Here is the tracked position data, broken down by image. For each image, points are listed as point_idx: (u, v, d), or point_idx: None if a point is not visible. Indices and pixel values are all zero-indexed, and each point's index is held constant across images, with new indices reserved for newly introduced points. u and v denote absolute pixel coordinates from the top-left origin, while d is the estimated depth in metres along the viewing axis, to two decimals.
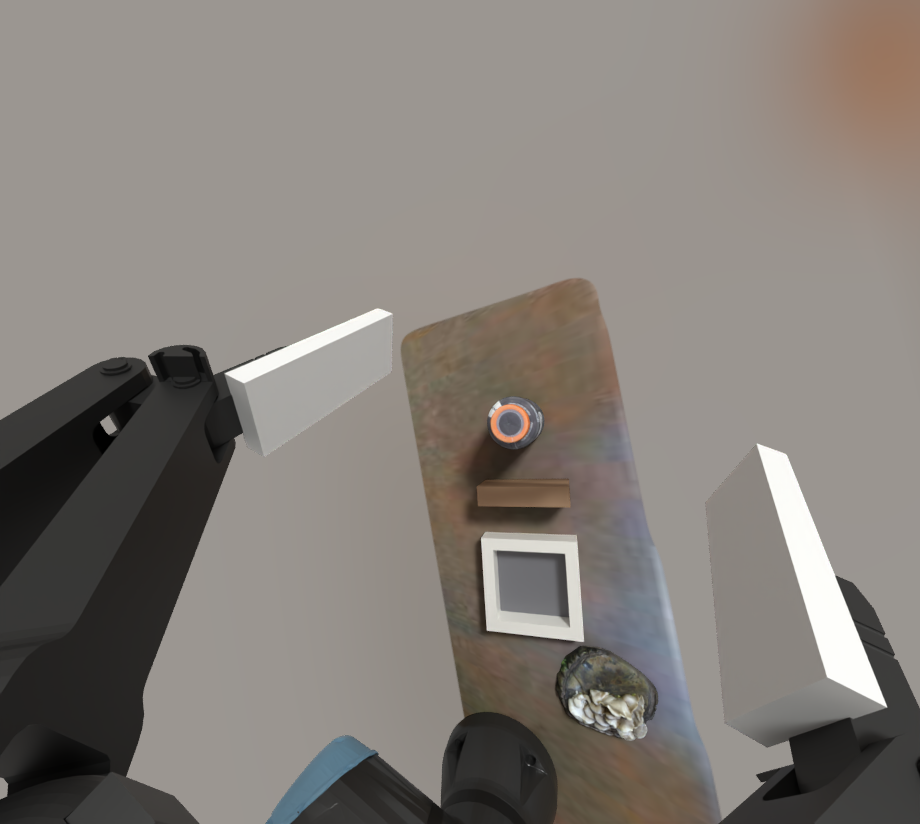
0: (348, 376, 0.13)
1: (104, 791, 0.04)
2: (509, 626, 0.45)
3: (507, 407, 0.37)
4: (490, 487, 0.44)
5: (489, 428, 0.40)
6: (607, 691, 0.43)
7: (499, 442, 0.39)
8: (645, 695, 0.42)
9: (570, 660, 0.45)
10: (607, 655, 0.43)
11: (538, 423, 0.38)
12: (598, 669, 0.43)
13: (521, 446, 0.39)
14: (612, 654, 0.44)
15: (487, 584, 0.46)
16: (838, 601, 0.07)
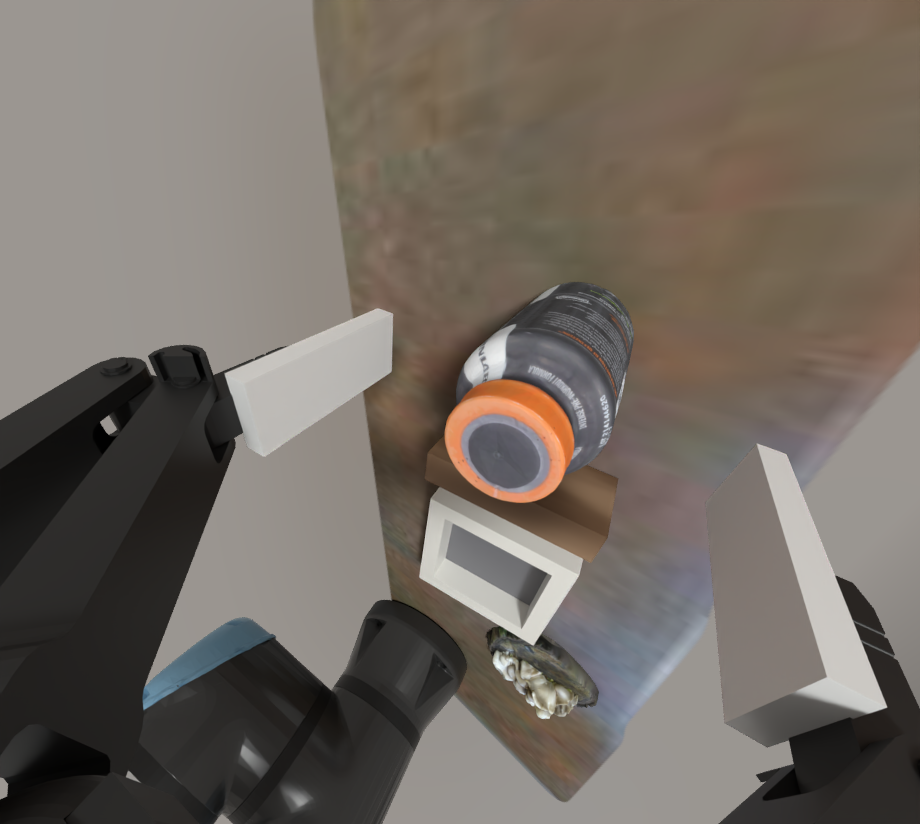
0: (348, 376, 0.13)
1: (104, 791, 0.04)
2: (446, 588, 0.34)
3: (510, 412, 0.10)
4: (452, 464, 0.21)
5: (457, 401, 0.14)
6: (540, 670, 0.36)
7: None
8: (582, 697, 0.35)
9: (512, 634, 0.35)
10: (557, 659, 0.33)
11: (600, 448, 0.12)
12: (540, 658, 0.35)
13: None
14: (565, 656, 0.34)
15: (428, 544, 0.31)
16: (838, 601, 0.07)
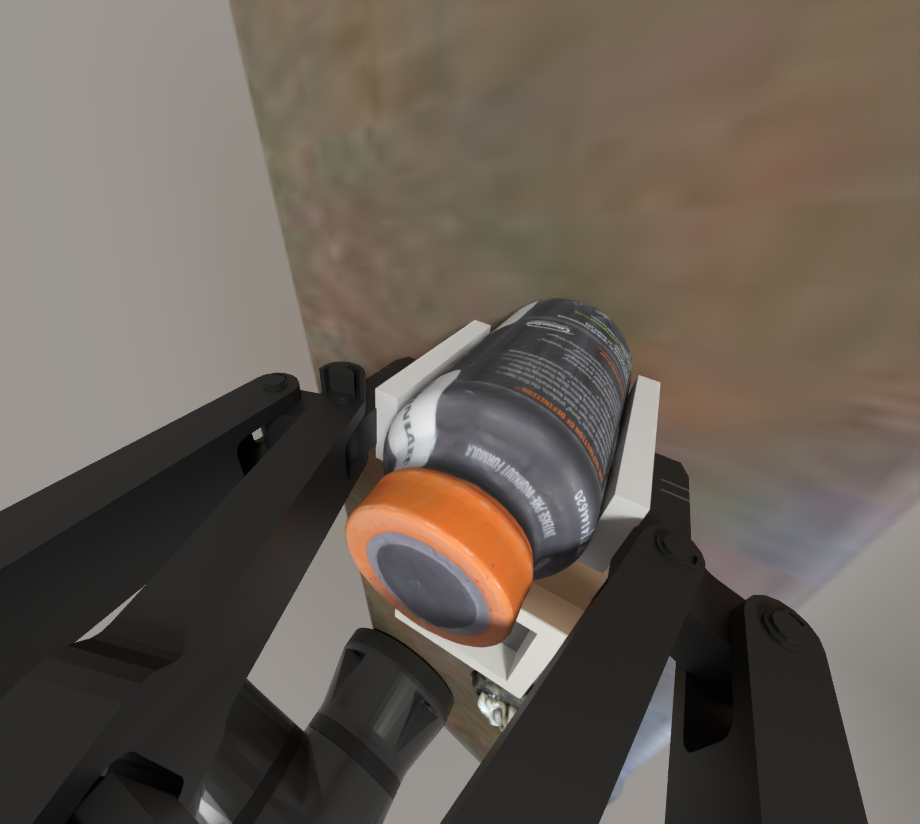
0: None
1: (104, 791, 0.04)
2: (424, 631, 0.30)
3: (423, 537, 0.06)
4: None
5: (385, 473, 0.10)
6: None
7: None
8: None
9: None
10: None
11: None
12: None
13: None
14: None
15: None
16: (648, 460, 0.09)
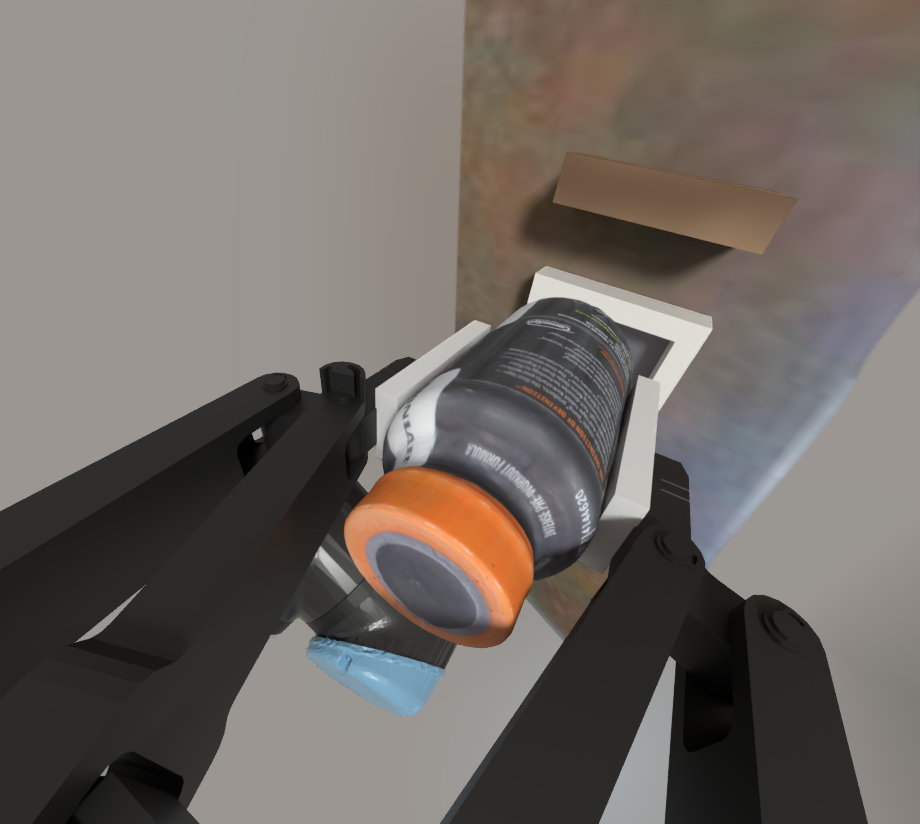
0: None
1: (104, 791, 0.04)
2: None
3: (422, 536, 0.06)
4: (597, 160, 0.19)
5: (384, 472, 0.10)
6: None
7: None
8: None
9: None
10: None
11: None
12: None
13: None
14: None
15: None
16: (648, 460, 0.09)
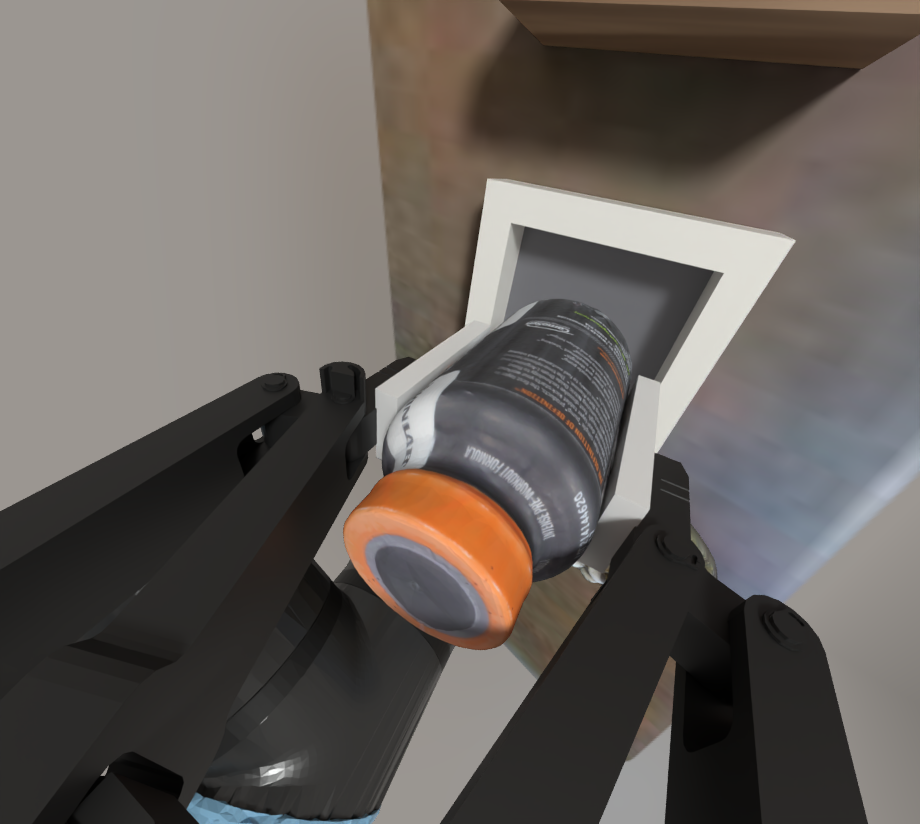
0: None
1: (104, 791, 0.04)
2: None
3: (421, 539, 0.06)
4: None
5: (384, 474, 0.10)
6: None
7: None
8: None
9: None
10: None
11: None
12: None
13: None
14: None
15: (475, 309, 0.19)
16: (648, 460, 0.09)
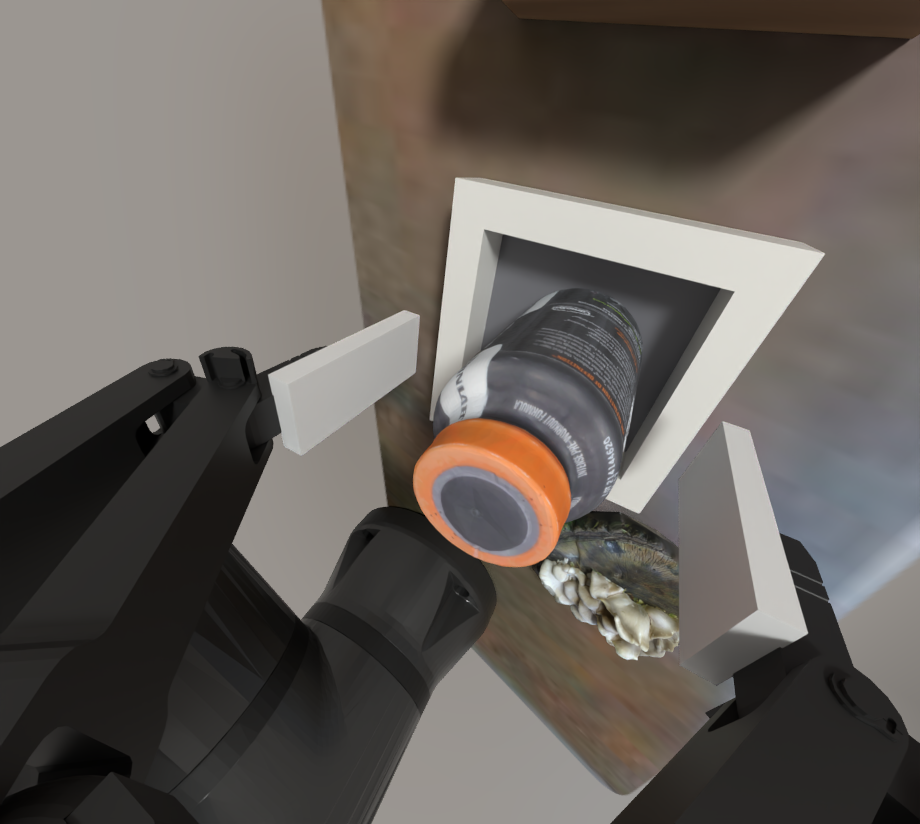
0: (378, 377, 0.13)
1: (104, 791, 0.04)
2: None
3: (488, 465, 0.08)
4: None
5: (434, 434, 0.12)
6: (623, 586, 0.22)
7: None
8: None
9: (584, 524, 0.21)
10: (671, 557, 0.19)
11: (603, 497, 0.10)
12: (632, 561, 0.21)
13: None
14: None
15: (448, 327, 0.17)
16: (778, 551, 0.07)
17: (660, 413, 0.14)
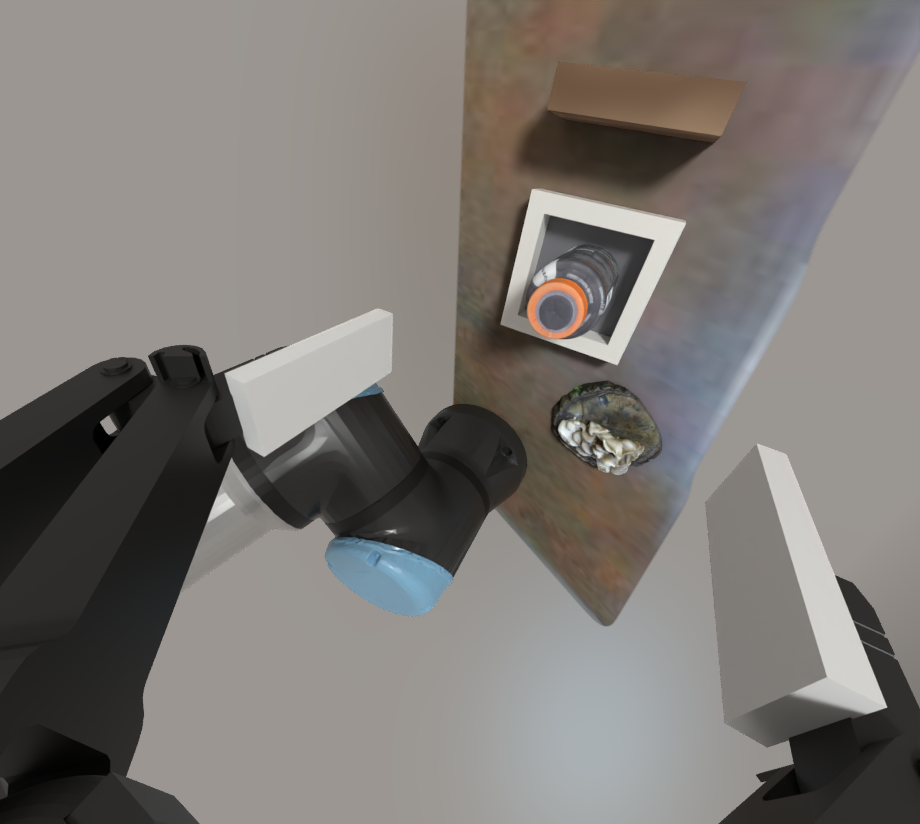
0: (348, 376, 0.13)
1: (103, 791, 0.04)
2: (530, 326, 0.35)
3: (561, 288, 0.23)
4: (584, 66, 0.22)
5: (527, 299, 0.27)
6: (608, 429, 0.38)
7: None
8: (647, 447, 0.37)
9: (587, 389, 0.37)
10: (634, 400, 0.35)
11: (599, 316, 0.26)
12: (613, 408, 0.37)
13: (562, 338, 0.28)
14: (639, 401, 0.36)
15: (519, 265, 0.33)
16: (838, 601, 0.07)
17: (626, 303, 0.30)
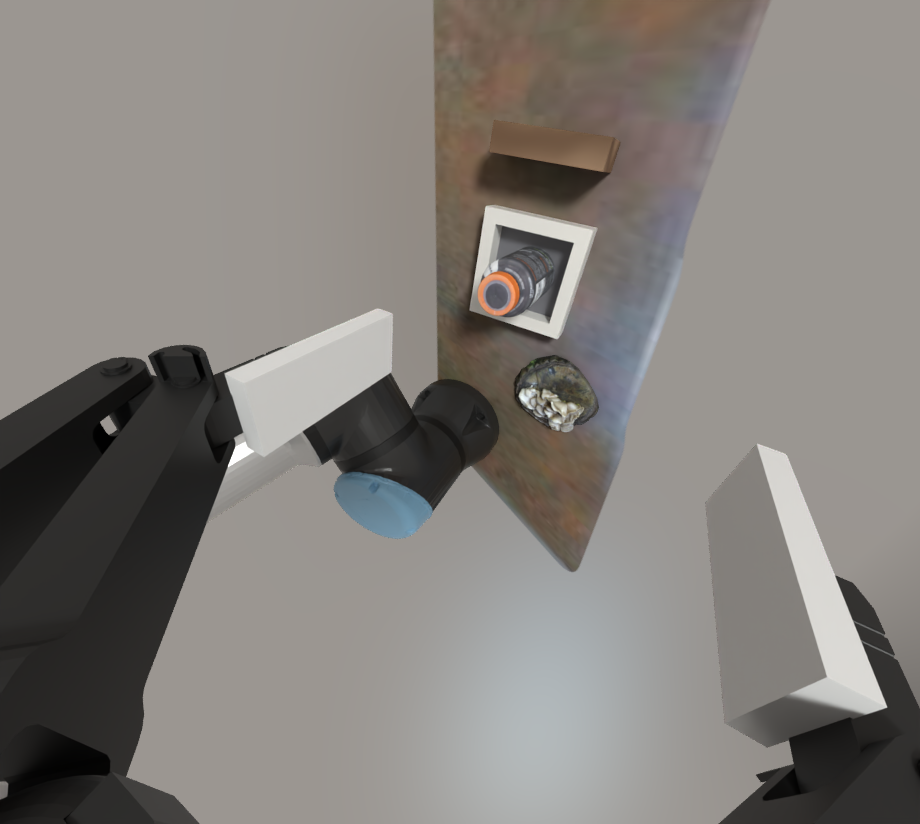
0: (348, 376, 0.13)
1: (104, 791, 0.04)
2: None
3: (498, 278, 0.33)
4: (511, 123, 0.32)
5: None
6: (557, 394, 0.48)
7: None
8: (586, 408, 0.47)
9: (539, 362, 0.47)
10: (574, 369, 0.45)
11: (530, 299, 0.35)
12: (559, 377, 0.46)
13: (506, 316, 0.37)
14: (579, 371, 0.45)
15: (480, 263, 0.42)
16: (838, 601, 0.07)
17: (559, 290, 0.40)
